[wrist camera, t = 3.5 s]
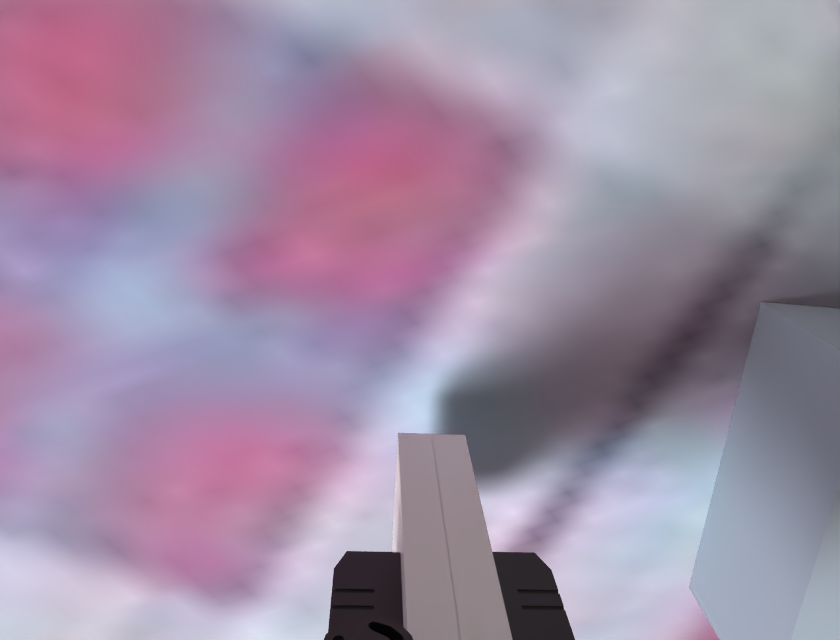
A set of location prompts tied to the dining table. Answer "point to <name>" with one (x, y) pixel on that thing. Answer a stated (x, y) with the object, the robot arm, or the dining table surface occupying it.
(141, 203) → the dining table surface
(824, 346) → the grey rectangular block
